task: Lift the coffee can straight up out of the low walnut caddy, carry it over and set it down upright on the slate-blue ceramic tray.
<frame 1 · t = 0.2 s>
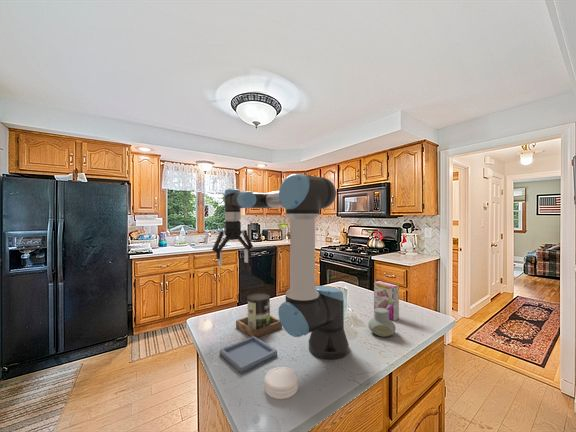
hand: (233, 264, 121), 27 cm above the worktop, fingers open, 13 cm apart
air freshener: (381, 333, 106), on the worktop
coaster: (281, 388, 73), on the worktop
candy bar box: (386, 317, 123), on the worktop
coffee can: (259, 327, 113), resting in caddy
tray: (248, 355, 90), on the worktop
caddy: (259, 327, 113), on the worktop
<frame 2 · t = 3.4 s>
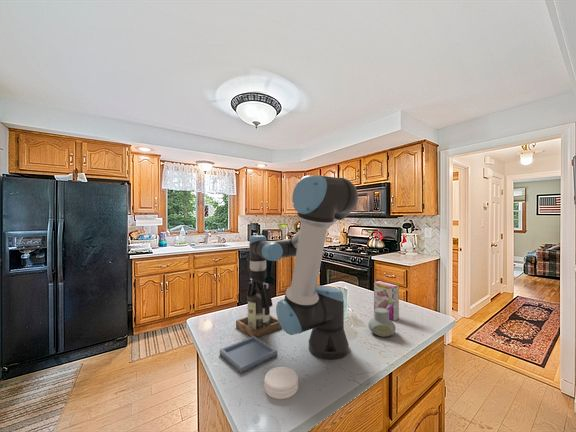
hand: (258, 318, 113), 4 cm above the worktop, fingers closed on coffee can, 10 cm apart
coffee can: (259, 327, 113), resting in caddy, touching gripper
everything else where it was.
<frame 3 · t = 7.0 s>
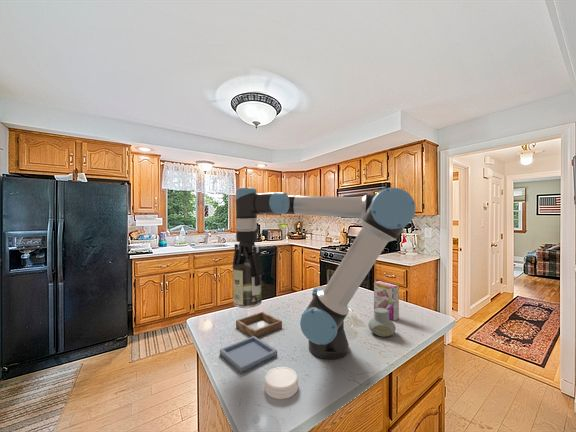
hand: (247, 291, 90), 23 cm above the worktop, fingers closed on coffee can, 10 cm apart
coffee can: (247, 303, 90), point 19 cm above the worktop, touching gripper
everything else where it was.
when the fingers open (6 cm above the worktop, at t = 10.7 s): coffee can drops 1 cm, resting on tray.
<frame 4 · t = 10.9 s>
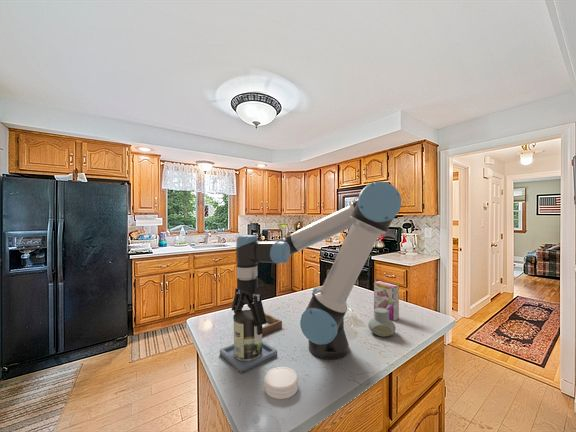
hand: (248, 336, 90), 7 cm above the worktop, fingers open, 12 cm apart
coffee can: (248, 353, 90), point 1 cm above the worktop, touching tray
everything else where it was.
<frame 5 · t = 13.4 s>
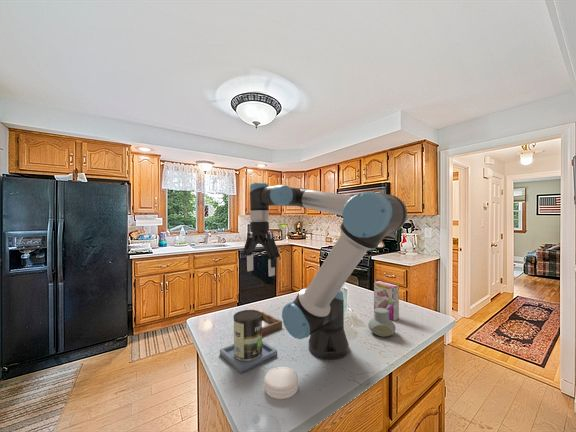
hand: (260, 273, 101), 28 cm above the worktop, fingers open, 13 cm apart
nothing on the worktop moved.
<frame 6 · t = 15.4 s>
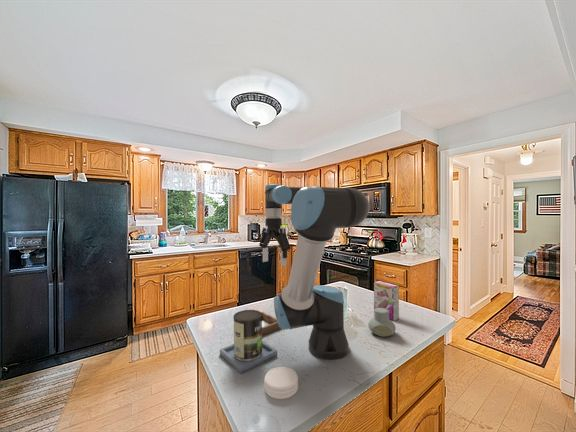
hand: (274, 263, 115), 29 cm above the worktop, fingers open, 13 cm apart
nothing on the worktop moved.
at the end: coffee can inside the target area on the tray (0.0 cm from its centre), point 0.6 cm above the tray's base; coffee can tilted 0°; the gripper is holding nothing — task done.
